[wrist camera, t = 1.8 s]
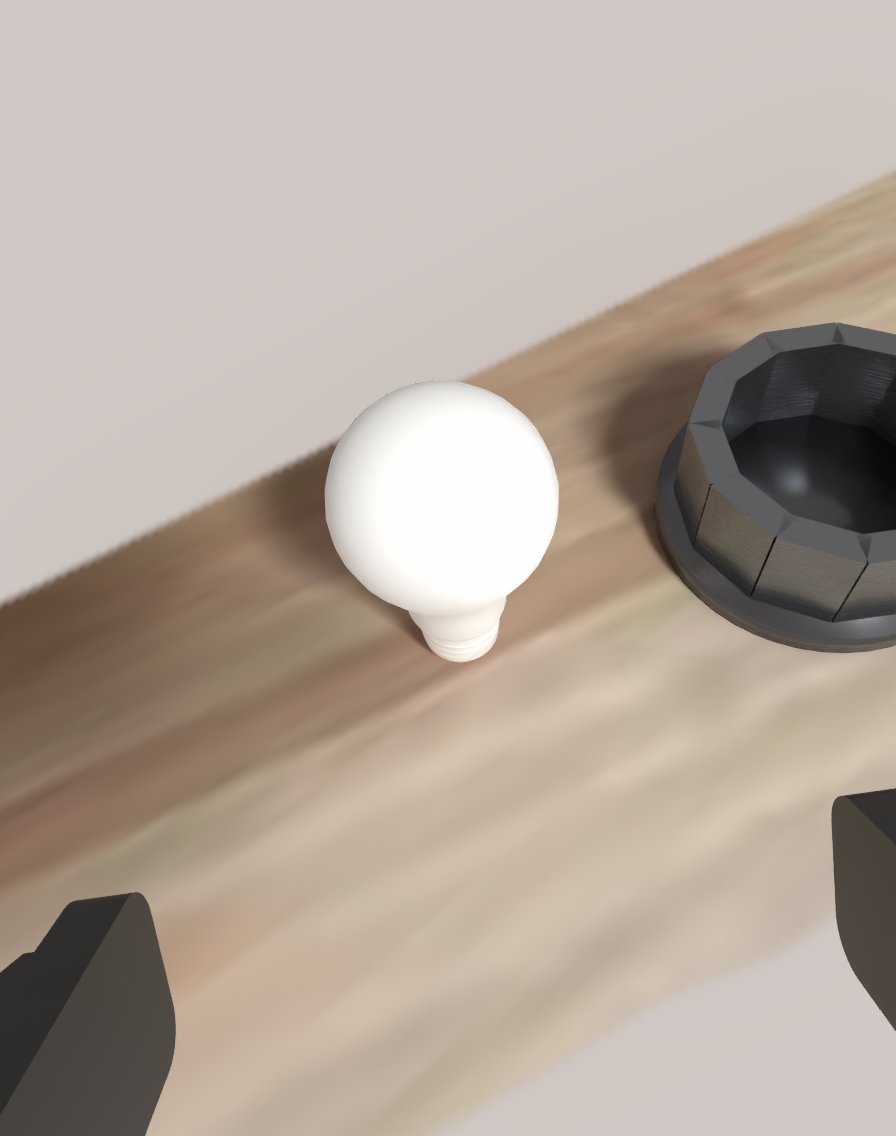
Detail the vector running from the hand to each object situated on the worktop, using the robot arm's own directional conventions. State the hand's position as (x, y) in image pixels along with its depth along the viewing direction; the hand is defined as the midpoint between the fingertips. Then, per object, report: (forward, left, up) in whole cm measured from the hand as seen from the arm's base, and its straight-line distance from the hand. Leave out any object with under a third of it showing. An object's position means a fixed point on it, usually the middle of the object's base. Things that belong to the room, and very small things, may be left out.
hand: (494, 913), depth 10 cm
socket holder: (-13, -15, -15) cm, 25 cm away
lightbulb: (0, -12, -16) cm, 19 cm away
